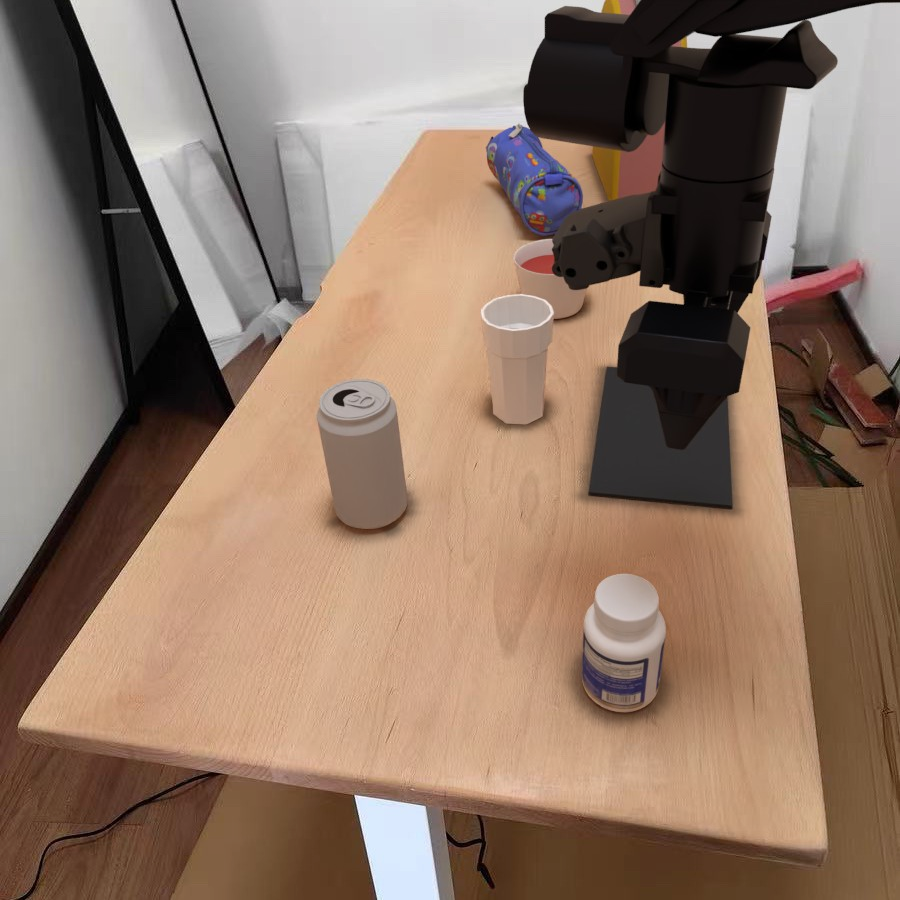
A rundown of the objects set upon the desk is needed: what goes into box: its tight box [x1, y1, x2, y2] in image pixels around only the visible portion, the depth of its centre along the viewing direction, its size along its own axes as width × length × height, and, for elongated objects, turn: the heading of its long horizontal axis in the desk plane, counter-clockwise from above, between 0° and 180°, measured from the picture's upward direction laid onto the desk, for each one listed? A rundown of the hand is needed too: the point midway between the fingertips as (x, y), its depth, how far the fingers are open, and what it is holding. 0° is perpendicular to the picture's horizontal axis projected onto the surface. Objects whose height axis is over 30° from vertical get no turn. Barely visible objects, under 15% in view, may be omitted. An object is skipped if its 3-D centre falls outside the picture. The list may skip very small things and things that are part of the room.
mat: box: [587, 366, 734, 510], centre depth 81 cm, size 20×12×1 cm, turn 167°
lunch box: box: [591, 0, 688, 202], centre depth 122 cm, size 21×9×26 cm, turn 0°
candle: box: [513, 238, 588, 320], centre depth 99 cm, size 9×9×6 cm
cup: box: [480, 293, 555, 426], centre depth 82 cm, size 7×7×11 cm
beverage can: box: [316, 378, 409, 530], centre depth 72 cm, size 6×6×12 cm
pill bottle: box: [581, 573, 667, 713], centre depth 57 cm, size 5×5×9 cm
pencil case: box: [485, 122, 584, 237], centre depth 121 cm, size 22×9×10 cm, turn 11°
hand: (687, 404), depth 55 cm, fingers open, 9 cm apart
